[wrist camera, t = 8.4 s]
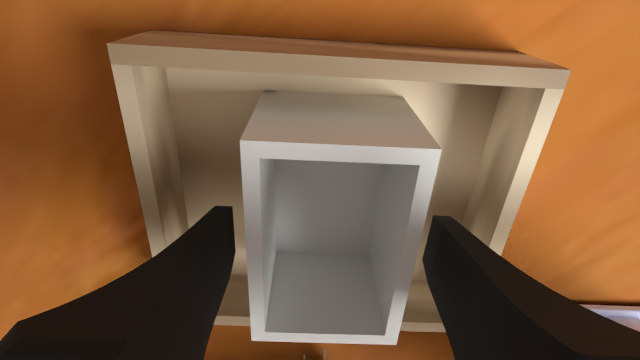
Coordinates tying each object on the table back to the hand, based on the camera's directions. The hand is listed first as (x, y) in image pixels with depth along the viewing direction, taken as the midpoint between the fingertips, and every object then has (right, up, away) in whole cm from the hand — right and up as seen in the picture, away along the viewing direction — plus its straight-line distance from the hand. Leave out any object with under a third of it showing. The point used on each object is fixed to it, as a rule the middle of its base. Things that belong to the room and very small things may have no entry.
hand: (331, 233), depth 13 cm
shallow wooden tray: (0, +2, +3) cm, 4 cm away
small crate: (0, +2, +3) cm, 3 cm away
